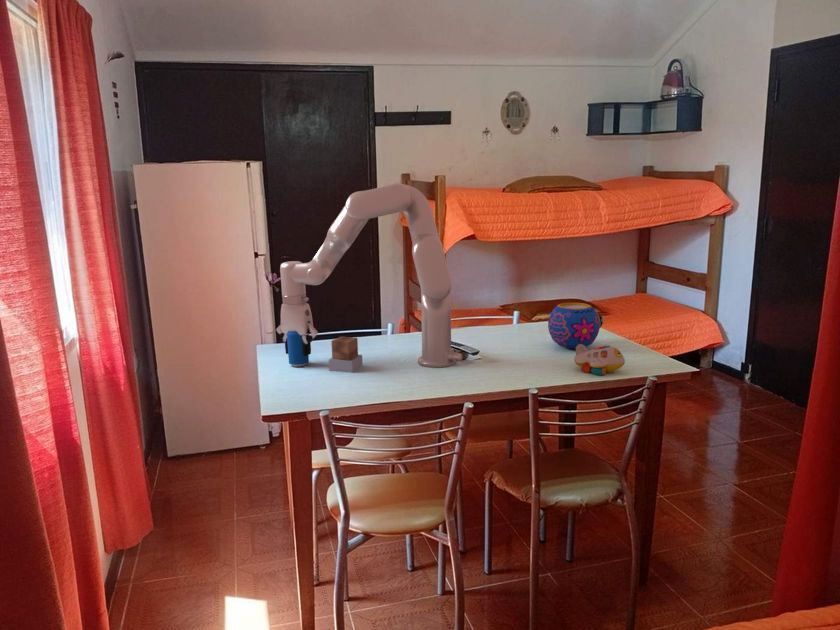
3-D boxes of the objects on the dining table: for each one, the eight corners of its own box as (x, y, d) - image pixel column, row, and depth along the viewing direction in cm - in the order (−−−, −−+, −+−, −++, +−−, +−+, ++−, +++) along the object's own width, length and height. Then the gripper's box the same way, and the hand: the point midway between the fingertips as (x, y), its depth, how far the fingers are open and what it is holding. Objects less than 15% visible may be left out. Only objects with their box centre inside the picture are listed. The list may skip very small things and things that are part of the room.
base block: (362, 366, 217) (362, 354, 216) (352, 373, 210) (351, 361, 209) (340, 365, 220) (339, 353, 219) (329, 371, 212) (328, 359, 212)
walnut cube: (358, 356, 215) (357, 337, 214) (348, 360, 210) (348, 342, 209) (341, 354, 218) (341, 336, 216) (332, 359, 212) (331, 340, 211)
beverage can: (311, 361, 222) (308, 326, 220) (306, 367, 216) (303, 330, 214) (292, 361, 223) (289, 326, 221) (286, 367, 217) (283, 331, 214)
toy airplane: (576, 339, 213) (625, 339, 208) (577, 365, 215) (626, 366, 210) (571, 349, 201) (623, 350, 196) (572, 377, 203) (624, 378, 198)
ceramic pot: (610, 348, 233) (611, 305, 230) (574, 356, 223) (575, 312, 220) (572, 338, 247) (573, 298, 244) (537, 346, 237) (537, 304, 234)
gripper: (323, 299, 215) (326, 353, 218) (280, 296, 222) (284, 348, 226) (309, 303, 208) (313, 359, 212) (265, 300, 216) (269, 354, 219)
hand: (298, 353), depth 219 cm, fingers closed on beverage can, 6 cm apart
